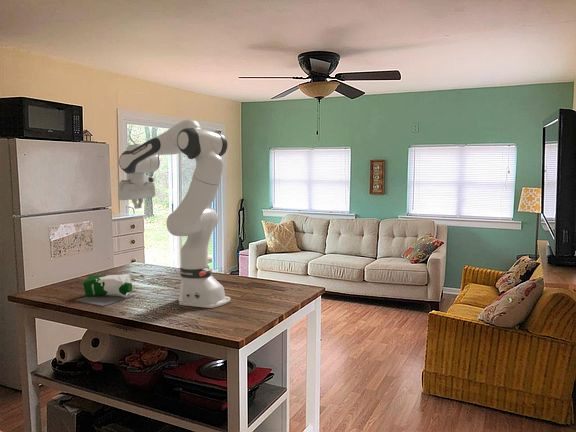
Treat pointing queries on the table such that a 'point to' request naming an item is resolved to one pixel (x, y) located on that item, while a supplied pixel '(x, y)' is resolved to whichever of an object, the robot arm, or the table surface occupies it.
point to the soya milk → (108, 285)
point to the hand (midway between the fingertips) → (138, 208)
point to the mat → (102, 300)
